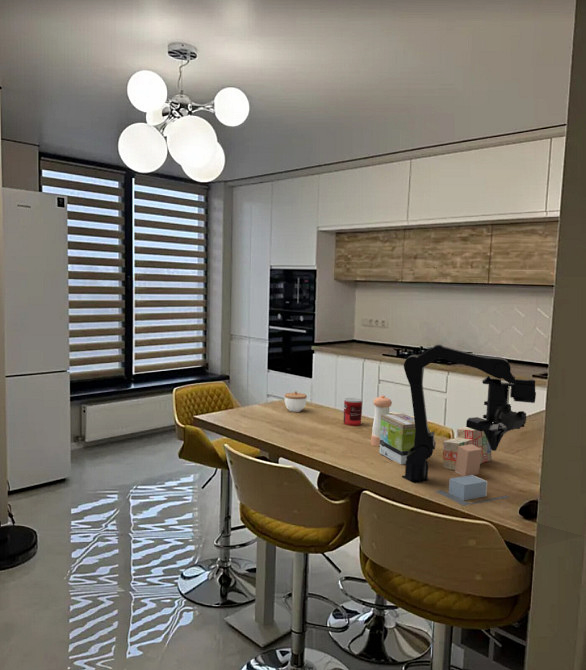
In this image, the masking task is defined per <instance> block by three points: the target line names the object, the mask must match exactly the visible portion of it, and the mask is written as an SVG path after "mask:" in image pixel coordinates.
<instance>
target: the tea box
mask: <svg viewBox="0 0 586 670" xmlns="http://www.w3.org/2000/svg"><path fill="white" fill-rule="evenodd" d="M414 440H415V421H414V416H413V417H412V416H410V415H408V414H405V413H392V414H389V415H381V429H380V447H379V454H381V455H382V456H385V457H386V458H388V459H389V460H391V461H392V462H395V463H397V464H400V465H406V460H407V455H408V452H409V450H410V449H411V448H412V447H414Z"/></svg>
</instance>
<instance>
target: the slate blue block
mask: <svg viewBox="0 0 586 670" xmlns="http://www.w3.org/2000/svg"><path fill="white" fill-rule="evenodd" d="M448 481H449V483H448V484H449V485H448V493H449V494H451V495H453V496H455V497H457V498H459V499H461V500H463V501H466V500H472V499H478V498H483V497H487V493H488V480H485V479H483V478H481V477H478V476H476V475H469V476H463V475H462V476H456V477H451V478H449V480H448Z"/></svg>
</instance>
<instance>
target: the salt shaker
mask: <svg viewBox="0 0 586 670" xmlns="http://www.w3.org/2000/svg"><path fill="white" fill-rule="evenodd" d="M392 402H393V401H392V399H390V398H389V397H385V395H381V396H379V397H376V398H374V400H373V405H374V418H373V424H372V431H371V432H372V434H371V436H370V444H371V445H372V446H373V447H378V446H380V429H381V415H390V407H391V406H392Z"/></svg>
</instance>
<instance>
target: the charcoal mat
mask: <svg viewBox="0 0 586 670" xmlns="http://www.w3.org/2000/svg"><path fill="white" fill-rule="evenodd" d="M434 492H435V493H437V494H439V495H441V496H444V497H445V498H446V499H447V498H448V499H450V500H451V501H453V502H455V503H457V504H459V505H461V506H463V507H465V506H470V505H475V504H480V503H481V504H482V503H485V502H492V501H496V500H501V499H507V498H510V496H509V495H502V496H497V497H495V498H494V497H493V498H490V499H489V498H488V499H484V500H479V501H475V502H468V501H466V500H464V501H463V500H461V499H459V498H457V497H455V496H454V495H451V494H449V492H446V491H444V490H442V489H440V490H439V489H438V490H435V491H434Z"/></svg>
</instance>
